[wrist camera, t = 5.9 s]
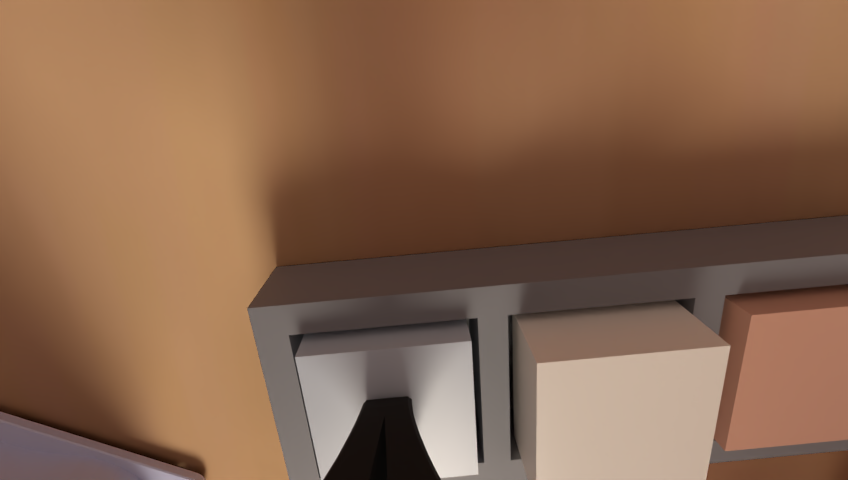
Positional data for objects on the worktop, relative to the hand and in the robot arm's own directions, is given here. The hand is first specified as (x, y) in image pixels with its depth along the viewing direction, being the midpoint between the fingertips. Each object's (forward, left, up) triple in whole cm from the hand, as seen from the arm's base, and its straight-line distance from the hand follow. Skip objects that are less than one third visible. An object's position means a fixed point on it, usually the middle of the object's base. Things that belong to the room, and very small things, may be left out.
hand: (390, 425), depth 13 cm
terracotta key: (+11, +7, -3) cm, 13 cm away
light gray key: (0, 0, -3) cm, 3 cm away
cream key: (+6, +3, -2) cm, 7 cm away
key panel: (+6, +3, -4) cm, 8 cm away
